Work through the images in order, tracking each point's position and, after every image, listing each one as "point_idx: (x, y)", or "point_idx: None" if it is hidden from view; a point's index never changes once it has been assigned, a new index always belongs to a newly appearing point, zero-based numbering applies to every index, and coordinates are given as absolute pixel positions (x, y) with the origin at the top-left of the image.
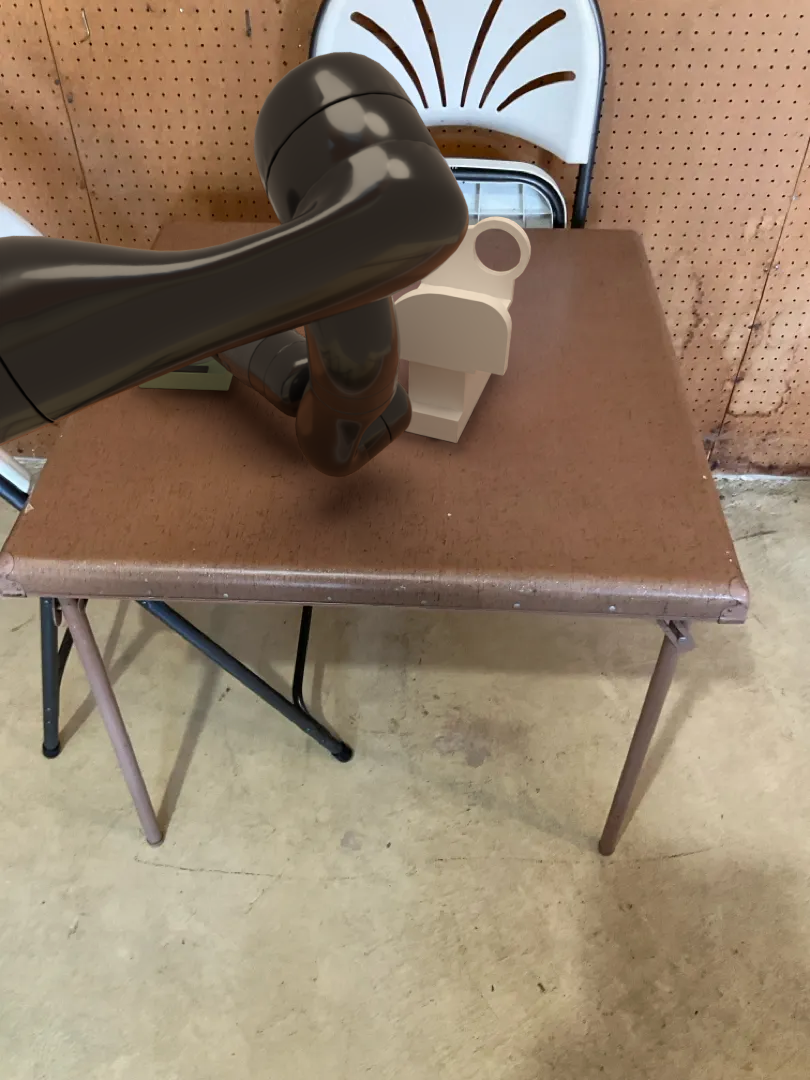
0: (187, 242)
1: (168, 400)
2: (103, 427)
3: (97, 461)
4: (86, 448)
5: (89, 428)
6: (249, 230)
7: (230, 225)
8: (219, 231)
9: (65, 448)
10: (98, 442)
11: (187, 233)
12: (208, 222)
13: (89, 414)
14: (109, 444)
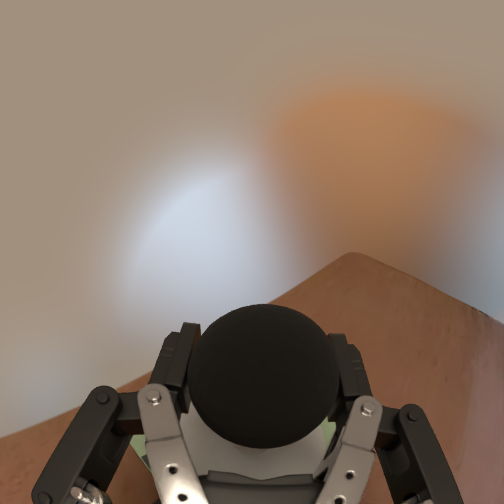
0: (354, 270)
1: (140, 500)
2: (47, 458)
3: (4, 484)
4: (13, 461)
5: (39, 444)
6: (410, 283)
7: (396, 271)
8: (385, 273)
9: (6, 439)
10: (26, 468)
11: (358, 262)
12: (379, 261)
13: (58, 428)
14: (29, 483)
